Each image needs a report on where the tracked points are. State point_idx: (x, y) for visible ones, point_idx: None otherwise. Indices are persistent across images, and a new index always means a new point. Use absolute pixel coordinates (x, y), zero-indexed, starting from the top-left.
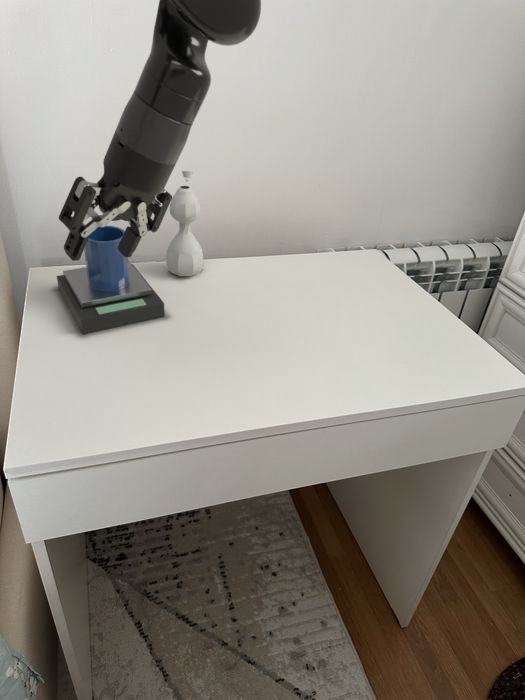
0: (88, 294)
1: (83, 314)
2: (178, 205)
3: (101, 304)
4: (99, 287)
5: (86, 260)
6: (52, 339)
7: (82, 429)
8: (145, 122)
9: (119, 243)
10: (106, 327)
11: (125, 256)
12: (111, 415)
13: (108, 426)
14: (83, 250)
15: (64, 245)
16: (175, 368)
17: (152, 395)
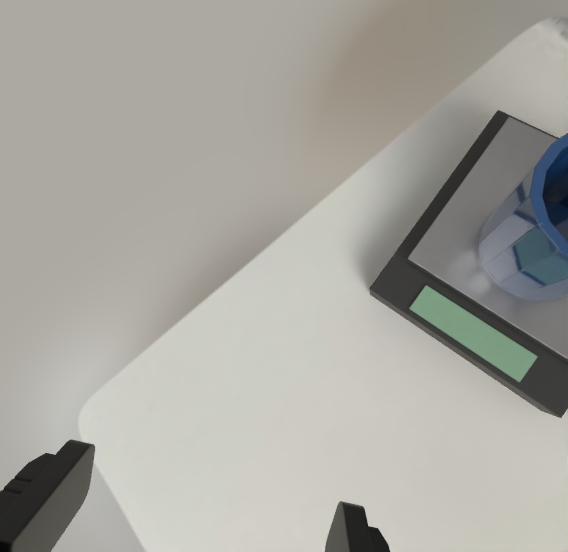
0: (449, 246)
1: (390, 278)
2: None
3: None
4: (483, 256)
5: (510, 192)
6: (326, 256)
7: (156, 464)
8: None
9: (345, 519)
10: (413, 323)
11: (325, 547)
12: (200, 490)
13: (177, 501)
14: (54, 545)
15: (22, 469)
16: None
17: (274, 534)
